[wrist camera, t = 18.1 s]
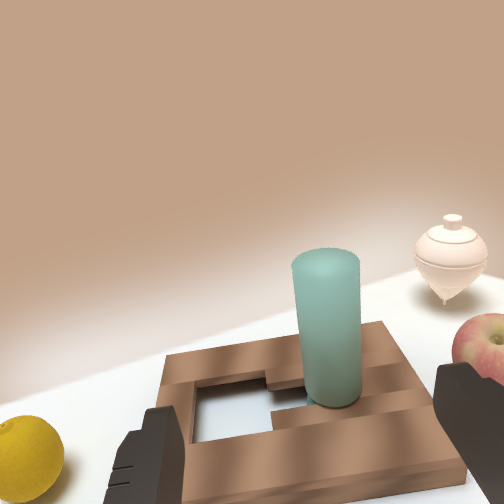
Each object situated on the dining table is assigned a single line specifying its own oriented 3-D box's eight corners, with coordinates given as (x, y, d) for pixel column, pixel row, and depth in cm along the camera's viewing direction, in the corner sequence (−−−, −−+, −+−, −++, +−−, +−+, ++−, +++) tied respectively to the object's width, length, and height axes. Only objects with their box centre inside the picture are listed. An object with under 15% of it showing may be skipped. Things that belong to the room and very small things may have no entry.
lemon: (24, 465, 34) (-16, 404, 31) (84, 452, 34) (52, 390, 31) (-6, 531, 29) (-56, 466, 26) (65, 514, 29) (24, 448, 26)
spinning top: (398, 303, 48) (401, 218, 43) (437, 282, 51) (444, 200, 46) (453, 332, 41) (464, 236, 36) (493, 306, 44) (509, 214, 39)
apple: (434, 367, 37) (440, 302, 34) (513, 361, 37) (528, 294, 33) (471, 436, 30) (484, 363, 27) (571, 431, 29) (598, 355, 26)
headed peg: (314, 440, 32) (298, 284, 25) (303, 395, 37) (287, 253, 30) (370, 431, 32) (369, 273, 25) (352, 387, 37) (347, 243, 30)
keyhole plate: (146, 534, 27) (133, 509, 26) (173, 376, 42) (166, 355, 40) (464, 483, 27) (469, 455, 26) (381, 343, 42) (381, 320, 40)
